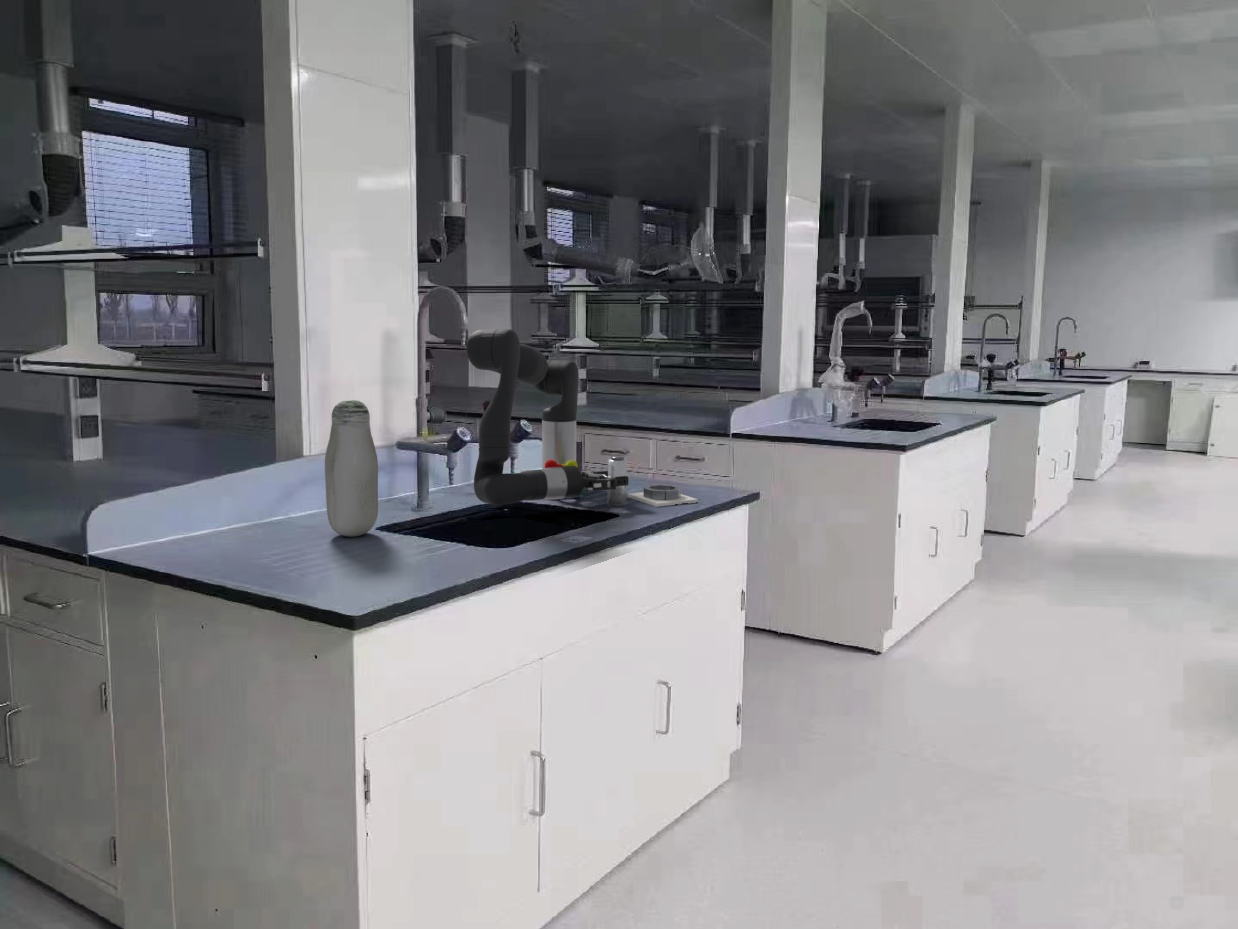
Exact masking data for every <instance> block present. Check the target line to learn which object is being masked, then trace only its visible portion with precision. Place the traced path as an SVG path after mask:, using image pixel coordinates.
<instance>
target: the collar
mask: <svg viewBox="0 0 1238 929" xmlns="http://www.w3.org/2000/svg"><path fill="white" fill-rule="evenodd" d="M643 492H644V494H643V497H646V498H649V499H655V500H672V499H678V498H679V497H681V494H682V487H680V486H676V485H673V484H662V483H661V484H651V485H646V486H644V487H643Z"/></svg>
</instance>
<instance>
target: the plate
mask: <svg viewBox="0 0 1238 929" xmlns="http://www.w3.org/2000/svg"><path fill="white" fill-rule="evenodd" d="M643 494H644V491H642V492H632V493H627V494H626V498H629V499H633V500H636V501H639V502H641V503H645V504H647V505H650V506H653V507H656V508H657V507H667V506H669V507H670V506H676V505H675V504H678V505H683V504H682V503H688V504H696V502H697V503H698V500H699V499H698V498H696V497H695V498H694V497H691V496H689V495H685V494H682V493H681V497H679V498H678V499H672V500H655V499H649V498H646V497H643Z"/></svg>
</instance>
